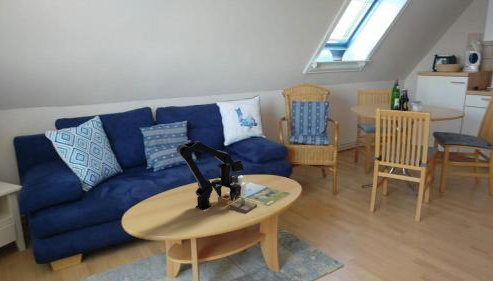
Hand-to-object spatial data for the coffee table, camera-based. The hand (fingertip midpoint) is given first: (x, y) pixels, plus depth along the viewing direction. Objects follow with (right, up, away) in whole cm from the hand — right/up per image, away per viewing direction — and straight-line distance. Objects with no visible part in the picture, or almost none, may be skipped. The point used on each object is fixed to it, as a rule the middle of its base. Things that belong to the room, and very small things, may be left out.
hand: (226, 199), depth 199 cm
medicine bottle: (+7, +1, +11) cm, 13 cm away
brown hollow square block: (0, -1, 0) cm, 1 cm away
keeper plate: (+10, -3, -8) cm, 13 cm away
